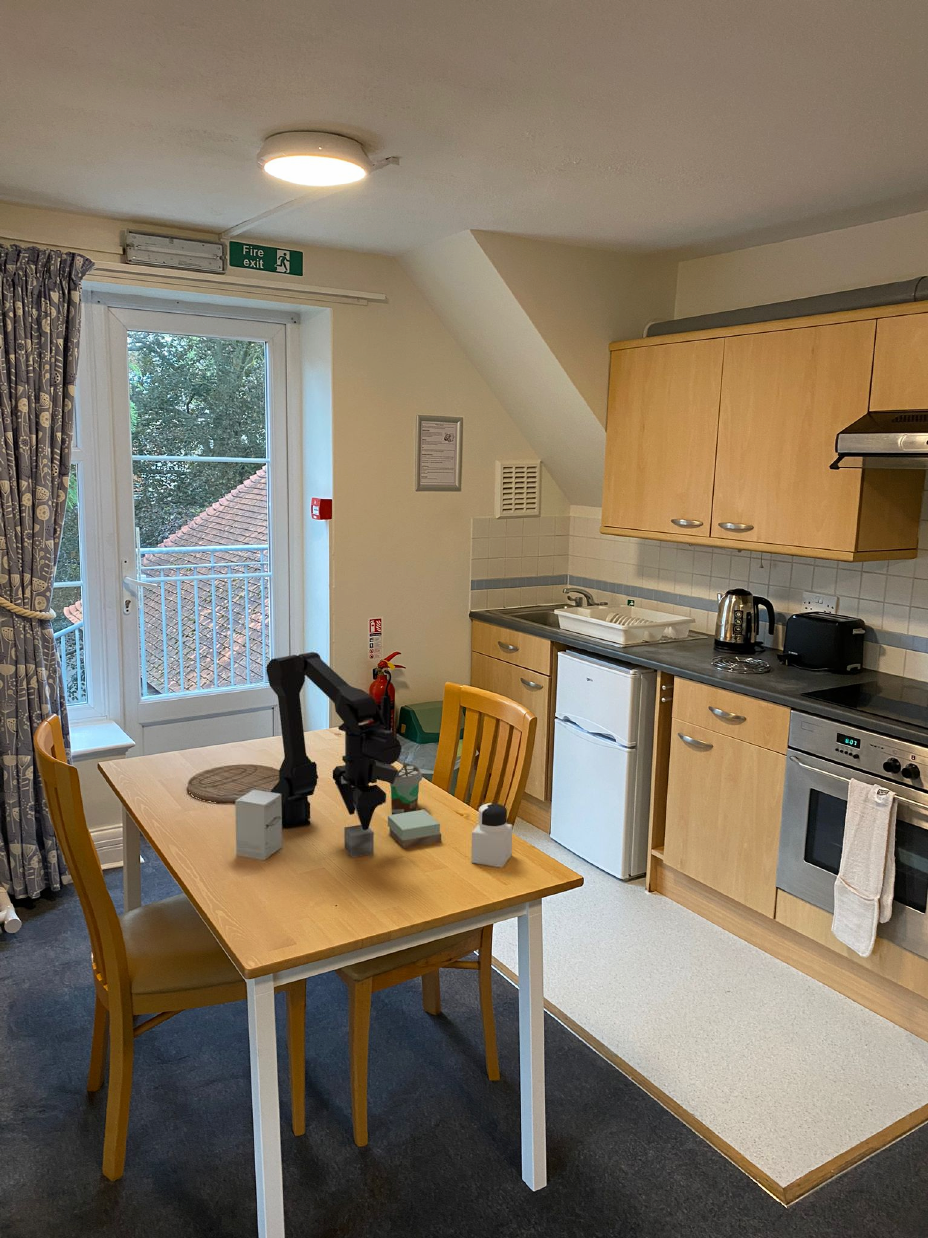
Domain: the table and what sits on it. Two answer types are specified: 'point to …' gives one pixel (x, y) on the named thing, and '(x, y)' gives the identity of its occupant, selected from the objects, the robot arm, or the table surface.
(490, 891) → the table surface
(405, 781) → the food container
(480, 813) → the medicine bottle
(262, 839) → the supplement box
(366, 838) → the grey cube
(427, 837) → the walnut slab
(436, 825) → the sage slab
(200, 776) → the trivet
